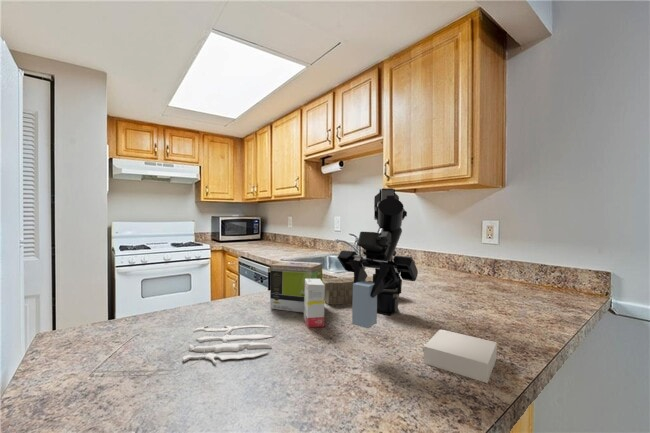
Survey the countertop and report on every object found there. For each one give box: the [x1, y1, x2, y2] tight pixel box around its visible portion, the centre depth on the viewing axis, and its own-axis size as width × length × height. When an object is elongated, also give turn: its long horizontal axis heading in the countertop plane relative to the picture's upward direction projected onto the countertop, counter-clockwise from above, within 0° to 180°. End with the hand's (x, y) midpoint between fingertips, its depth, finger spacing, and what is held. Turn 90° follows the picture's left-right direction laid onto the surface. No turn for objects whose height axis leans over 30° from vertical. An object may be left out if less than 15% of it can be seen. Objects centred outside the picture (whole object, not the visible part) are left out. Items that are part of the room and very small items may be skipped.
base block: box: [422, 328, 498, 384], centre depth 64 cm, size 12×12×4 cm
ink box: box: [303, 279, 325, 328], centre depth 86 cm, size 9×5×12 cm, turn 10°
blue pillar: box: [351, 281, 378, 329], centre depth 67 cm, size 4×4×9 cm
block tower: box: [322, 275, 400, 305], centre depth 110 cm, size 8×8×29 cm
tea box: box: [269, 260, 323, 313], centre depth 99 cm, size 15×10×15 cm
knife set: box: [90, 323, 275, 374], centre depth 71 cm, size 26×35×1 cm
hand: (362, 294), depth 66 cm, fingers closed on blue pillar, 4 cm apart
